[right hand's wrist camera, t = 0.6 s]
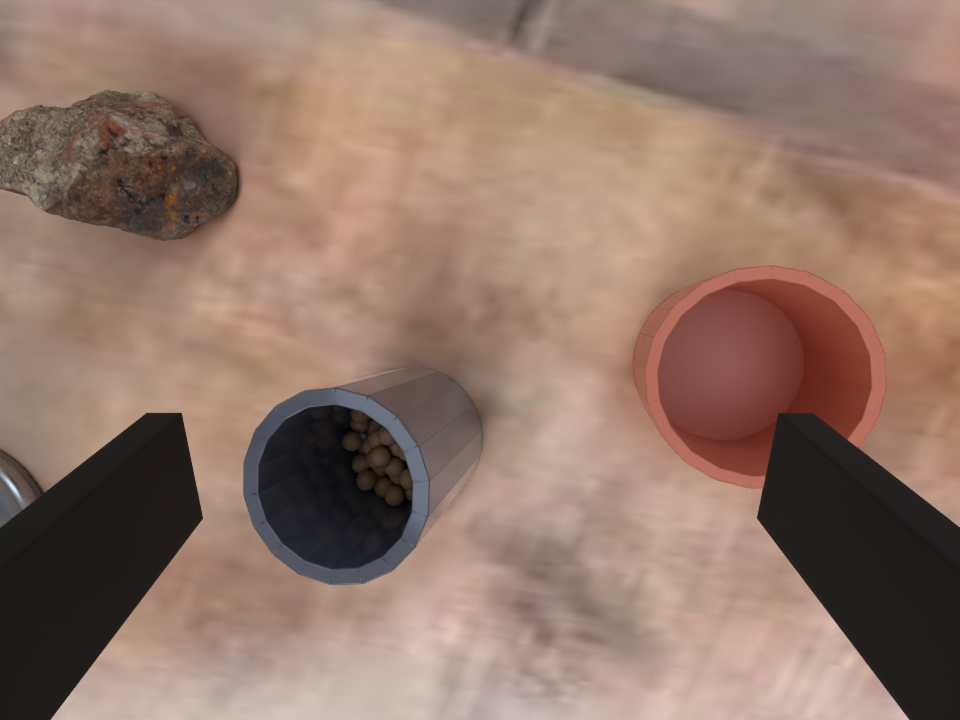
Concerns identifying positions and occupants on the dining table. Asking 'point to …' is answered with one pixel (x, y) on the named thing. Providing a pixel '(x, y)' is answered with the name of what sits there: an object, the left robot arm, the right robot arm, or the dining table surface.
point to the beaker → (332, 481)
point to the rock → (117, 164)
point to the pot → (756, 367)
